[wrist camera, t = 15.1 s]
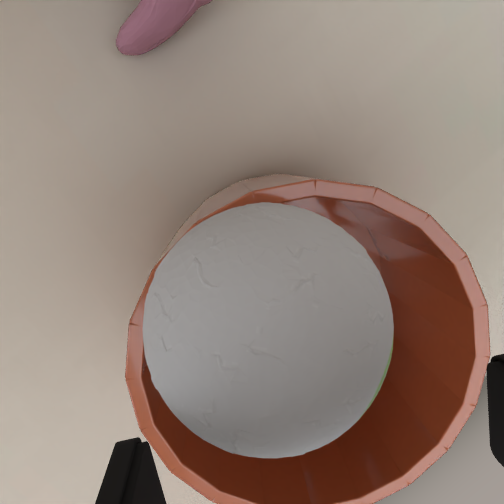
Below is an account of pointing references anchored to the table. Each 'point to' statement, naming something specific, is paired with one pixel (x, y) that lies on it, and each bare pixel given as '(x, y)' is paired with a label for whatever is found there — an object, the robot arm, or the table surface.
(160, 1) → the video game controller
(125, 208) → the table surface
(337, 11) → the table surface
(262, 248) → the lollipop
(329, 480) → the pen pot
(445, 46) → the table surface
